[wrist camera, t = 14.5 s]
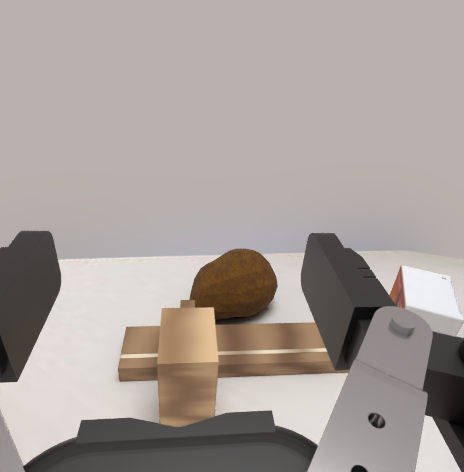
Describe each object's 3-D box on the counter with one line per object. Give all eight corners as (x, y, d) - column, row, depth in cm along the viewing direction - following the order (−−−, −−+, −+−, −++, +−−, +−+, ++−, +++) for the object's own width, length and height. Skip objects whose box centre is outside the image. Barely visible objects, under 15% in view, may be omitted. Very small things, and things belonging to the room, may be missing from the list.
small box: (376, 328, 49) (400, 263, 44) (421, 340, 48) (451, 274, 42) (376, 374, 42) (404, 304, 37) (428, 390, 41) (465, 320, 36)
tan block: (206, 350, 44) (210, 267, 38) (211, 452, 33) (218, 361, 27) (167, 351, 43) (165, 267, 37) (161, 455, 33) (157, 363, 27)
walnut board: (334, 333, 47) (338, 321, 46) (352, 371, 42) (356, 359, 41) (127, 339, 44) (126, 326, 43) (119, 381, 39) (118, 367, 38)
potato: (182, 291, 53) (183, 239, 48) (261, 283, 56) (268, 233, 51) (192, 334, 46) (193, 278, 41) (281, 322, 49) (291, 268, 44)
